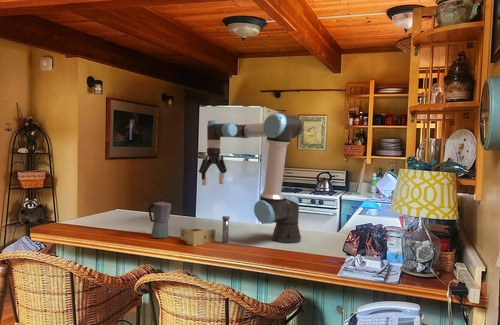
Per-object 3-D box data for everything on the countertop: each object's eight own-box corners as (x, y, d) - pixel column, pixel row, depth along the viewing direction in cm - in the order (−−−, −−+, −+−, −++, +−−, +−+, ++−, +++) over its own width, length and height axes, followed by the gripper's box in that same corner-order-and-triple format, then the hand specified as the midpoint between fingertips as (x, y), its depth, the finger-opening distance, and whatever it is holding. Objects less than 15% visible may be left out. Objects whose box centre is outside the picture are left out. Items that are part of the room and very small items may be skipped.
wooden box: (217, 242, 201) (218, 228, 201) (193, 246, 191) (193, 231, 191) (200, 236, 212) (200, 223, 212) (176, 240, 202) (176, 226, 202)
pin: (230, 242, 200) (230, 217, 200) (224, 243, 198) (225, 217, 197) (225, 241, 203) (226, 215, 202) (220, 242, 200) (220, 216, 200)
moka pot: (176, 235, 212) (177, 198, 211) (155, 241, 199) (156, 201, 198) (163, 233, 217) (163, 196, 216) (141, 238, 204) (142, 199, 203)
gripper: (223, 147, 242) (223, 183, 242) (192, 147, 222) (192, 185, 223) (233, 148, 237) (232, 183, 238) (202, 147, 218) (201, 186, 218)
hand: (212, 184), depth 230 cm, fingers open, 13 cm apart
